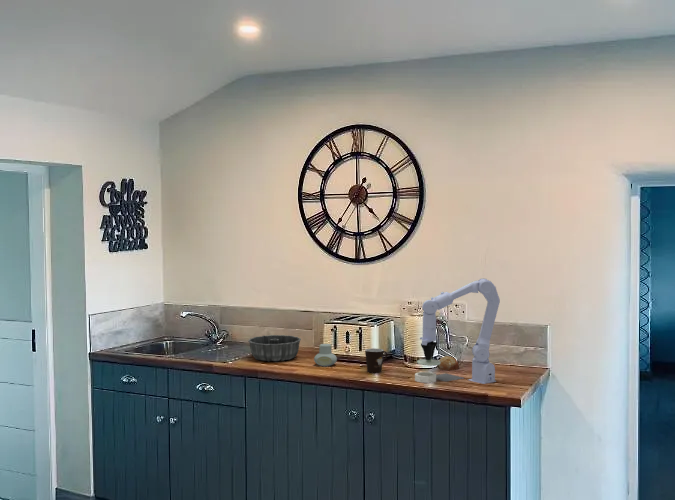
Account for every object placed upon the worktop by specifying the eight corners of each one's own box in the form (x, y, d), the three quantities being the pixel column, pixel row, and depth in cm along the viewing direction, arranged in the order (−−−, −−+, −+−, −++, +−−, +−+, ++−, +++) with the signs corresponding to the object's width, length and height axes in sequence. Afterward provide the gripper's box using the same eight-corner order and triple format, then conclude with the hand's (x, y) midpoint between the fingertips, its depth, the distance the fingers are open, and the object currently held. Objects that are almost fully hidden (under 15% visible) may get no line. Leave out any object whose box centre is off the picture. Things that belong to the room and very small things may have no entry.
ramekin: (440, 382, 308) (440, 374, 307) (425, 385, 302) (425, 377, 302) (426, 378, 315) (426, 371, 315) (410, 381, 310) (410, 373, 309)
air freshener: (312, 366, 340) (312, 345, 340) (315, 363, 348) (315, 343, 348) (335, 367, 339) (335, 346, 338) (337, 363, 347) (337, 343, 347)
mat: (465, 379, 313) (465, 378, 313) (445, 382, 306) (445, 381, 306) (445, 374, 322) (445, 373, 322) (426, 377, 315) (426, 376, 315)
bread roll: (436, 375, 338) (430, 360, 337) (454, 364, 341) (447, 350, 340) (447, 379, 329) (440, 364, 327) (464, 368, 332) (458, 353, 330)
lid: (445, 363, 309) (445, 353, 308) (429, 366, 302) (429, 356, 302) (428, 360, 316) (428, 350, 316) (412, 362, 310) (412, 352, 310)
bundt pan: (276, 366, 342) (276, 345, 342) (237, 359, 358) (237, 339, 358) (311, 357, 363) (311, 338, 363) (273, 352, 379) (272, 333, 379)
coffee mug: (368, 374, 323) (368, 352, 323) (362, 370, 332) (362, 348, 331) (392, 372, 326) (392, 350, 326) (386, 369, 335) (386, 347, 334)
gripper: (425, 325, 317) (425, 355, 317) (415, 329, 304) (414, 361, 304) (441, 326, 314) (440, 357, 315) (431, 330, 301) (430, 362, 301)
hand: (429, 359), depth 309 cm, fingers closed on lid, 2 cm apart
